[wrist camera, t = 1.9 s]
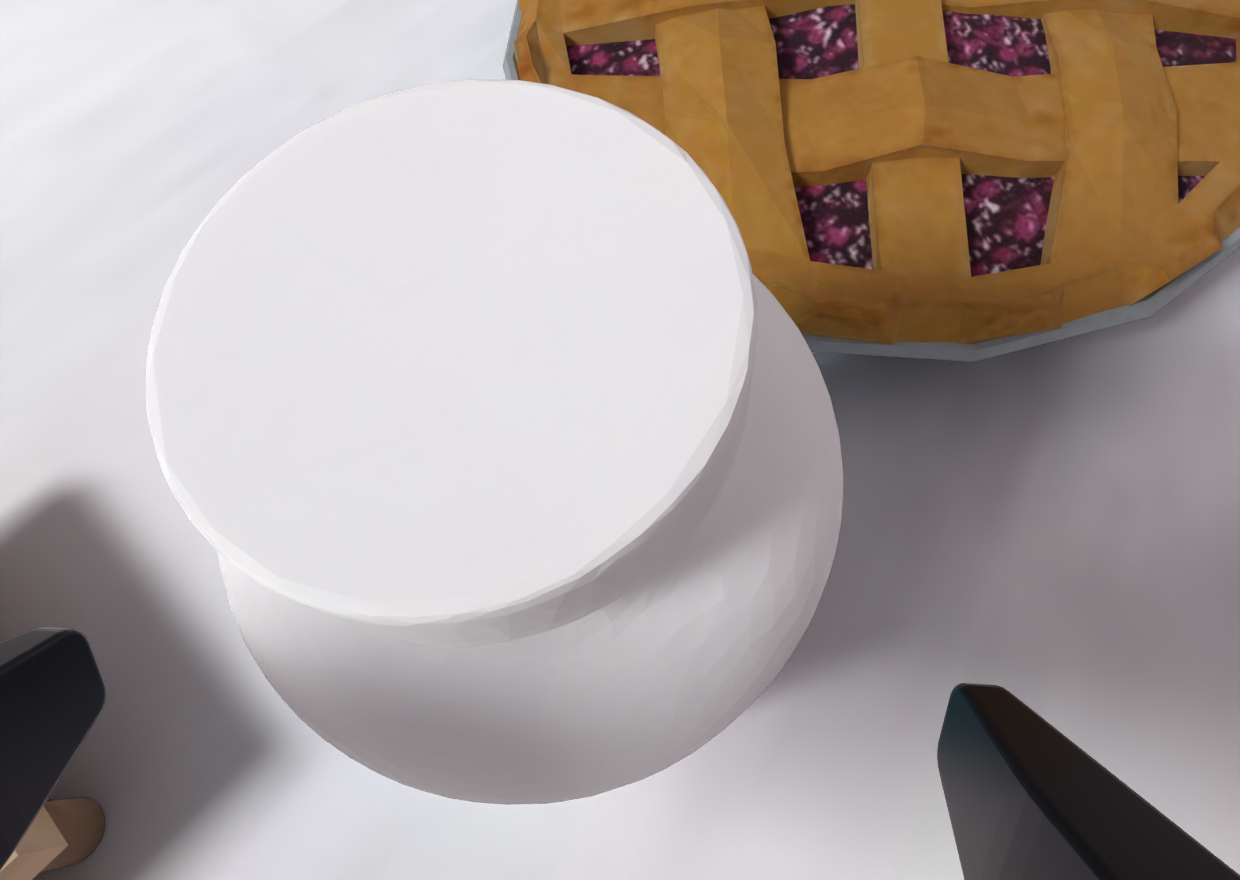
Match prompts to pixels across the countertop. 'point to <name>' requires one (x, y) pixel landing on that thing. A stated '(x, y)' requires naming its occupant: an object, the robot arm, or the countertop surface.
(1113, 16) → the pie
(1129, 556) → the countertop surface
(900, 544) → the countertop surface
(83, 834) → the square wooden stand
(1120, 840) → the robot arm
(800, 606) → the pill bottle
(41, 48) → the countertop surface
